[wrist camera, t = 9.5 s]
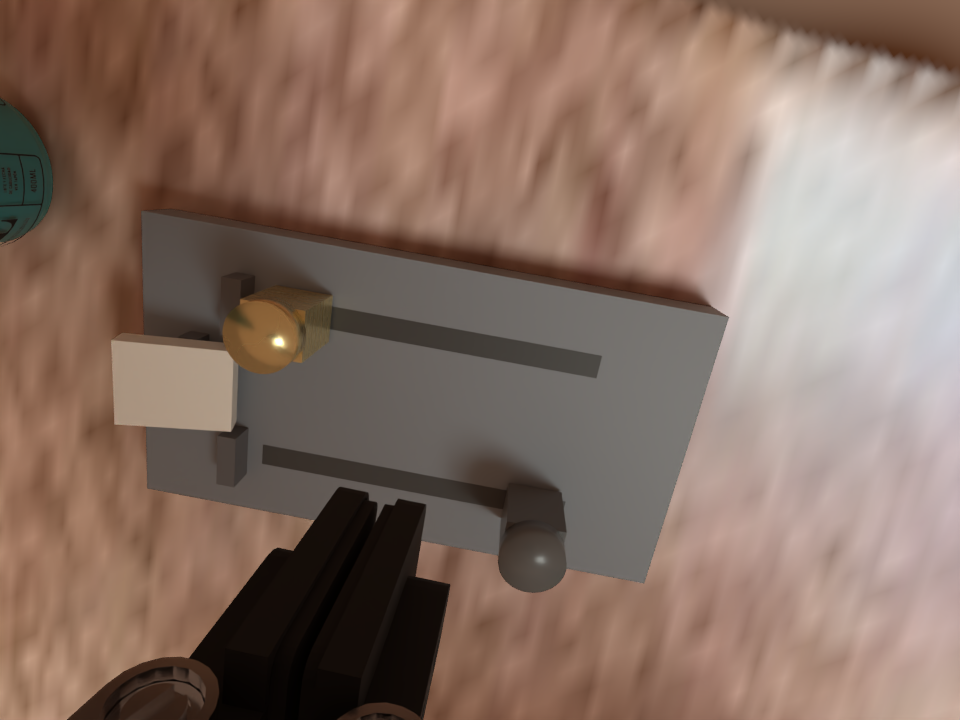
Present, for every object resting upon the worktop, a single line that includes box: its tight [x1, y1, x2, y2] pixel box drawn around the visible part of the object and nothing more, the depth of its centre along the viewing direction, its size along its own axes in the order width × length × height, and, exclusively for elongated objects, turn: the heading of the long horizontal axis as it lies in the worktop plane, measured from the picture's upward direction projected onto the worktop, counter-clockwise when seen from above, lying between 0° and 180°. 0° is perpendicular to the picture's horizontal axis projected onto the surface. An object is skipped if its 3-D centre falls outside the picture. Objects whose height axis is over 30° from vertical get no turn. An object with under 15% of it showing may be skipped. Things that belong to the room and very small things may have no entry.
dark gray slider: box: [498, 483, 567, 593], centre depth 23 cm, size 3×3×4 cm
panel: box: [141, 209, 729, 583], centre depth 24 cm, size 24×13×3 cm, turn 80°
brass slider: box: [222, 285, 333, 374], centre depth 21 cm, size 3×3×4 cm
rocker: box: [111, 333, 238, 432], centre depth 23 cm, size 4×4×1 cm
